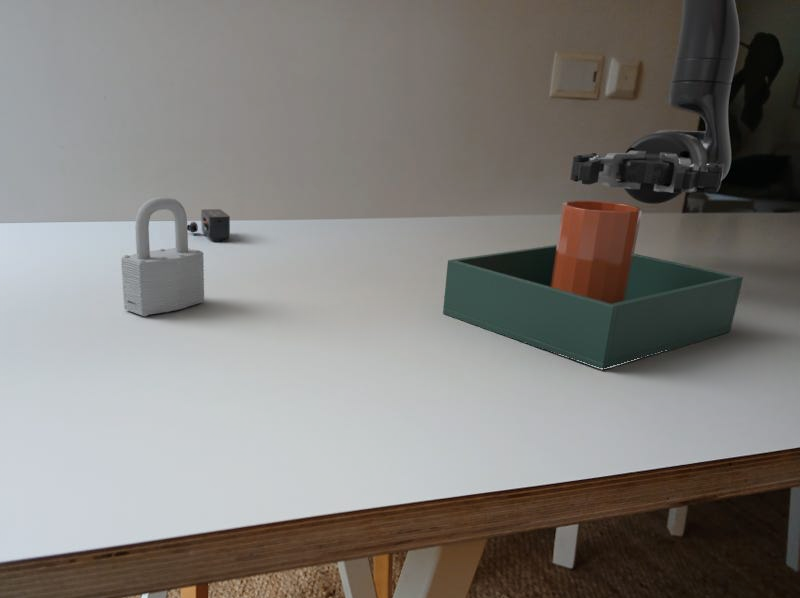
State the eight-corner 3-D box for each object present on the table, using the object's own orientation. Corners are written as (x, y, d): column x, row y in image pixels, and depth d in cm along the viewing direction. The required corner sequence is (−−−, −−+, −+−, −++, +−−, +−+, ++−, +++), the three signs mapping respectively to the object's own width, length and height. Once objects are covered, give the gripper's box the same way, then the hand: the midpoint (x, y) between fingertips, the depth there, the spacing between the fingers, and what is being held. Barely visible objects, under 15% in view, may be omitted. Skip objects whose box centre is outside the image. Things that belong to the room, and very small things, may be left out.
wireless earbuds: (219, 231, 103) (219, 208, 102) (230, 241, 97) (230, 216, 96) (186, 232, 102) (185, 208, 101) (195, 242, 96) (195, 217, 95)
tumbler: (576, 303, 72) (593, 199, 68) (635, 320, 67) (656, 209, 64) (533, 312, 68) (548, 203, 65) (591, 330, 64) (611, 214, 60)
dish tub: (571, 288, 80) (578, 241, 78) (730, 331, 67) (743, 276, 65) (442, 313, 69) (447, 260, 67) (602, 371, 56) (613, 306, 54)
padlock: (182, 295, 72) (179, 191, 68) (209, 304, 69) (207, 196, 66) (119, 309, 67) (112, 197, 63) (146, 319, 64) (140, 203, 61)
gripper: (603, 128, 86) (563, 132, 74) (740, 135, 79) (721, 141, 66) (593, 193, 89) (552, 208, 76) (724, 206, 82) (704, 225, 69)
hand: (631, 177), depth 71 cm, fingers open, 8 cm apart
